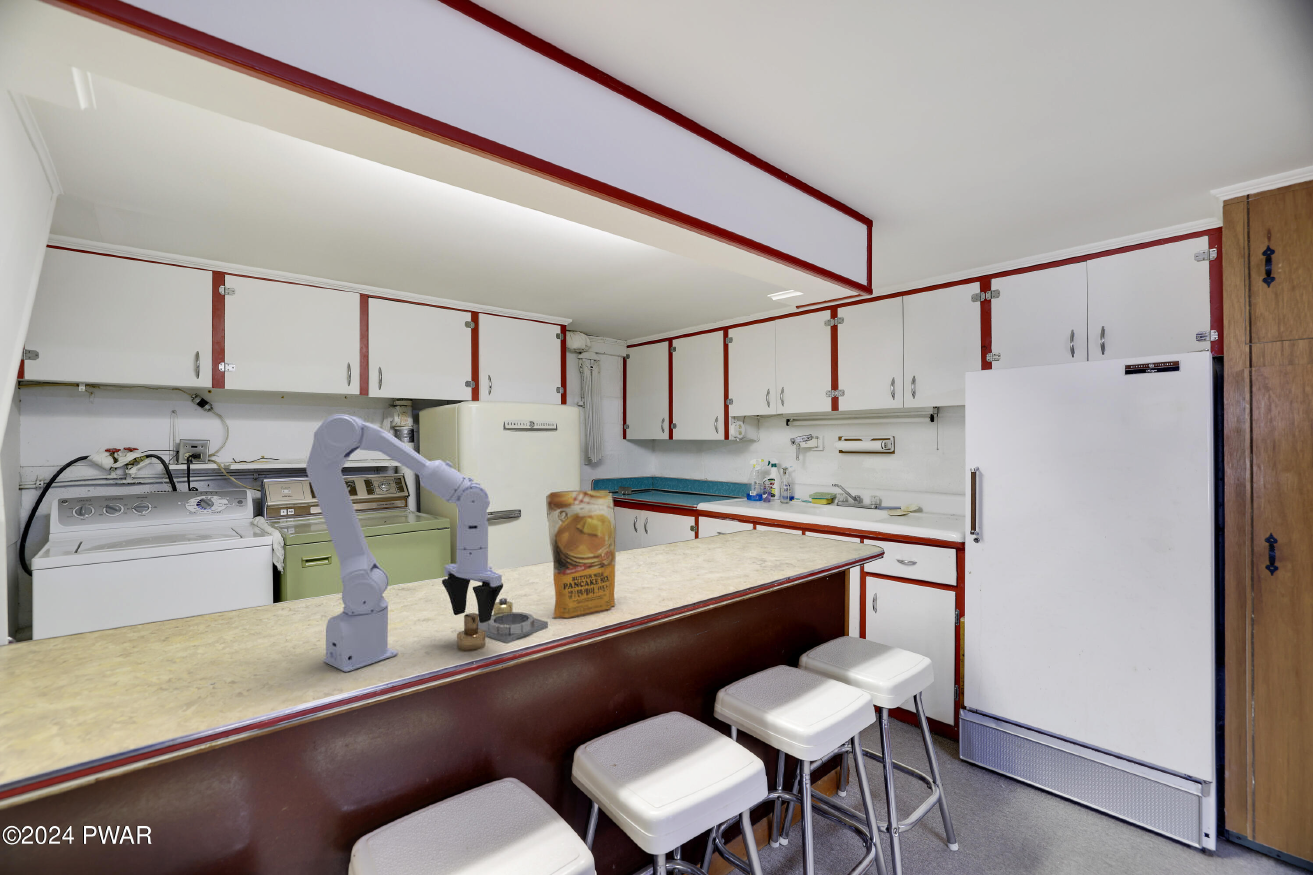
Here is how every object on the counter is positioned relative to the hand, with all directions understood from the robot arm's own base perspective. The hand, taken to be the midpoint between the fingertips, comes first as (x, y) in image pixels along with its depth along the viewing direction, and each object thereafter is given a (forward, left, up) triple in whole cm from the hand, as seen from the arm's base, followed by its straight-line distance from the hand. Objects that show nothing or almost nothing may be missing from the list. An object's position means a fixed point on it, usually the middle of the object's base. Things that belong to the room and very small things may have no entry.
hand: (472, 617), depth 106 cm
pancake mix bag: (+28, -3, -6) cm, 29 cm away
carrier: (+10, +2, -6) cm, 12 cm away
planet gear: (0, 0, -6) cm, 6 cm away
